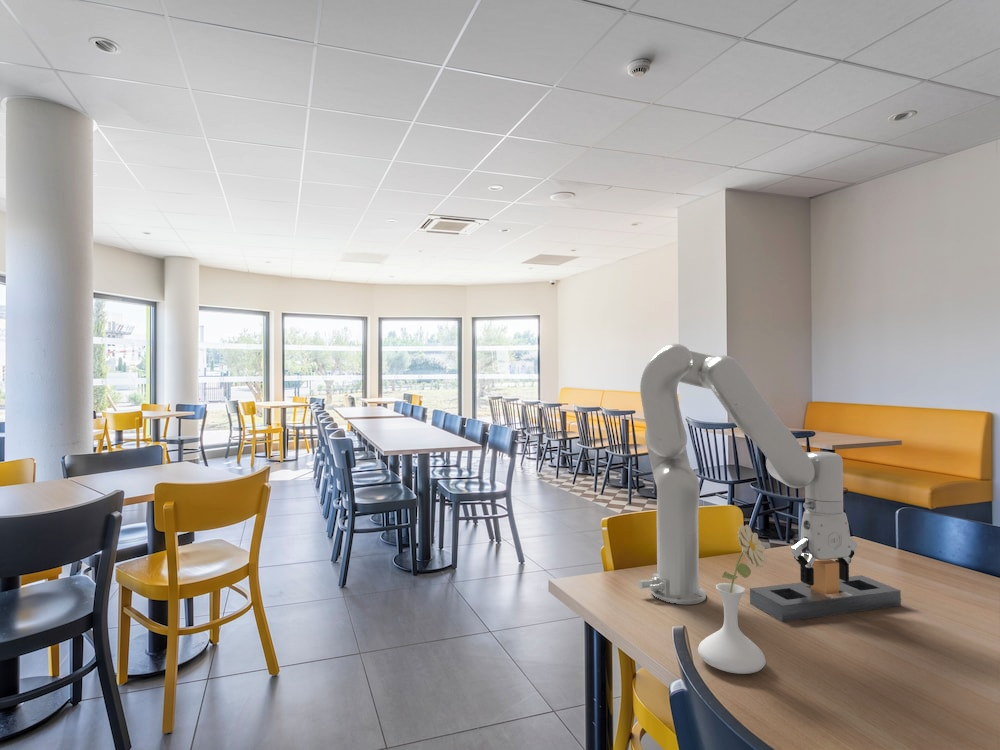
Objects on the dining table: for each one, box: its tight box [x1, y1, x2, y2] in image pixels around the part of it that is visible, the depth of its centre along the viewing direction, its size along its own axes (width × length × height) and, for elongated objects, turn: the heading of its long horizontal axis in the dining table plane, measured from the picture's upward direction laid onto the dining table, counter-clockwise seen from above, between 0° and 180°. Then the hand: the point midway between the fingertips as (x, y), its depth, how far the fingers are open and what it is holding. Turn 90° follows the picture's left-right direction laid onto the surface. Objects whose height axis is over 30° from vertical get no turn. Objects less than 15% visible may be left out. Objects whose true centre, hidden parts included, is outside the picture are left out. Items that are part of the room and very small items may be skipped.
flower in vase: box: [697, 523, 768, 675], centre depth 101 cm, size 13×11×25 cm
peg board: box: [749, 574, 902, 623], centre depth 127 cm, size 32×10×4 cm, turn 105°
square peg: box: [811, 559, 839, 595], centre depth 127 cm, size 4×4×10 cm
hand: (824, 581), depth 127 cm, fingers open, 9 cm apart
